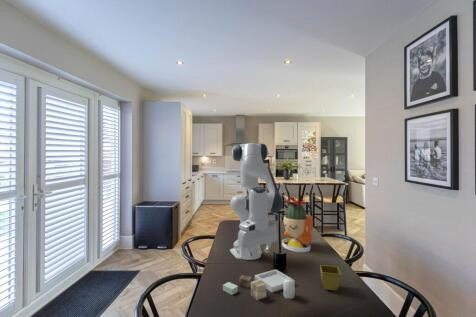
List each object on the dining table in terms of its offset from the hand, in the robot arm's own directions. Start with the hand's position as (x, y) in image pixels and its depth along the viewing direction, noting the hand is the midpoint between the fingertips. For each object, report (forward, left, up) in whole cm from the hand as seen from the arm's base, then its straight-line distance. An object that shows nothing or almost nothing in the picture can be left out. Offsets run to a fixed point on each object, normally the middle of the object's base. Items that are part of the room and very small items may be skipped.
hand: (258, 254), depth 114 cm
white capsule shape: (+7, +12, -19) cm, 23 cm away
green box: (-10, -9, -19) cm, 24 cm away
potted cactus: (-37, +62, -19) cm, 75 cm away
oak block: (0, 0, -19) cm, 19 cm away
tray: (-6, +14, -19) cm, 24 cm away
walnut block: (-11, 0, -19) cm, 22 cm away
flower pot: (+12, +34, -19) cm, 41 cm away
